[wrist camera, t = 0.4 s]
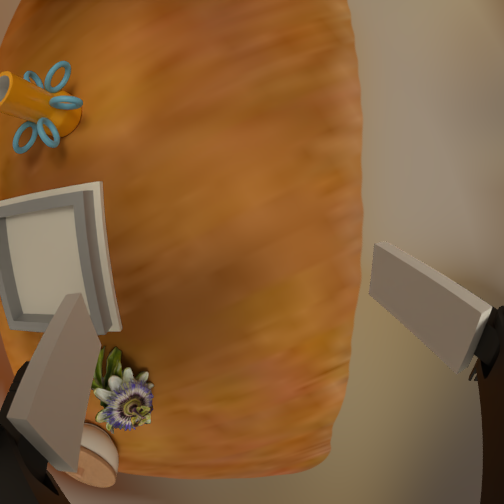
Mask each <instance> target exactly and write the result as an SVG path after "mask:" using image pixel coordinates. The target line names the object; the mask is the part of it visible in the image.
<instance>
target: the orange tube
mask: <svg viewBox="0 0 504 504" xmlns="http://www.w3.org/2000/svg"><path fill="white" fill-rule="evenodd" d="M60 67H64V68H65V75H64V77H63V79H62V81H61V82H60V84H59V85H57V86H56V87H51V84H50V83H51V78H52V76H53V74H54V73H55V72H56V70H57V69H59V68H60ZM70 74H71V66H70V64H69V63H68V62H67V61H60V62H58V63H56V64H55V65H54V66H53V67H52V68H51V69H50V70H49V72H48V74H47V76H46V78H45V83H44V86H45V89H44V86H43V83H42V81H41V79H40V78H39V77H38V75H37V74H36V73H34V72H33V71H27V72H26V73H25V74H24V79H23V78H21V77H19V76H17V75H15V74H13V73H11V72H9V71H5V72H2V73H0V113H4V114H7V115H11V116H14V117H18V118H21V119H24V120H27V122H25V123H23V124H22V125H21V126H20V127H19V129H18V130H17V132H16V133H15V136H14V139H13V149H14V151H15V152H16V153H19V154H22V153H24V152H26V151H28V150H29V149H30V148H31V146H32V145H33V144H34V142H35V140H36V138H37V135H38V134H39V136H40V138H41V139H42V141H43V142H44V143H45V144H46V145H47V146H49V147H51V148H55V147H57V146H58V145H59V143H60V137H64V136H66V135H68V134H70V133H71V132H72V131H73V130H74V129H75V128H76V127H77V125H78V123H79V121H80V118H81V114H82V105H83V101H82V100H81V99H80V98H77V97H74V96H72V95H70V94H69V93H67V92H65V91H63V90H61V89H62V88H63V87H64V86H65V84H66V83H67V81H68V79H69V77H70ZM29 77H31V78H32V79H33V80H34V81H35V83H36V84H37V85H35V84H33V83H31V82H30V79H29ZM28 127H32V129H33V133H32V136H31V139H30V140H29V142H28V143H27V144H26V145H25V146H24V147H19V145H18V142H19V138H20V136H21V134H22V132H23V131H24V130H25V129H26V128H28ZM47 135H51V136H53V137H54V141H52V140H51V139H50V138H49V137H48V136H47Z"/></svg>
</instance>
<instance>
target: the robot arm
mask: <svg viewBox="0 0 504 504" xmlns="http://www.w3.org/2000/svg"><path fill="white" fill-rule="evenodd" d="M369 295H370V296H371V297H373V298H374V299H375V300H376V301H377V302H378V303H379V304H381V305H382V306H383V307H384V308H385V309H386V310H387V311H389V312H390V313H391V314H392V315H393V316H394V317H395V318H396V319H398V320H399V321H400V322H401V323H402V324H403V325H404V326H405V327H406V328H408V329H409V330H410V331H411V332H412V333H413V334H414V335H415V336H416V337H418V339H420V340H421V341H422V342H423V343H424V344H425V345H426V346H427V347H428V348H429V349H430V350H431V351H433V352H434V353H435V354H436V355H437V356H438V357H439V358H440V359H441V360H442V361H443V362H444V363H445V364H446V365H447V366H449V367H450V368H451V369H452V370H453V371H454V372H455V373H456V374H458V373H459V372H461V371H462V370H464V369H465V368H467V367H468V366H469V364H470V362H471V360H472V357H473V355H476V356H477V357H478V359H477V361H476V364H475V366H474V368H473V370H472V372H471V374H470V376H469V381H471V379H472V377H473V375H474V374H476V373H477V376H476V377H475V379H474V381H478V386H479V395H480V404H481V415H482V431H483V475H482V492H481V502H480V504H504V306H501V307H499V309H498V310H497V309H496V308H494V307H493V306H491V305H490V304H488V303H487V302H485V301H484V300H482V299H481V298H479V297H478V296H476V295H475V294H473V293H472V292H470V291H469V290H467V289H466V288H464V287H463V286H461V285H459V284H458V283H456V282H454V281H453V280H451V279H449V278H448V277H446V276H445V275H443V274H441V273H440V272H438V271H436V270H435V269H433V268H431V267H430V266H428V265H426V264H425V263H423V262H422V261H420V260H418V259H416V258H415V257H413V256H411V255H410V254H408V253H406V252H404V251H403V250H401V249H399V248H397V247H395V246H394V245H392V244H390V243H389V242H387V241H386V242H380V243H375V244H374V252H373V263H372V273H371V281H370V289H369ZM100 349H101V343H100V340H99V338H98V336H97V333H96V331H95V328H94V326H93V323H92V321H91V318H90V316H89V313H88V310H87V308H86V305H85V302H84V299H83V297H82V294H81V293H74V294H67V295H65V297H64V299H63V300H62V302H61V304H60V306H59V307H58V309H57V311H56V313H55V314H54V316H53V318H52V320H51V321H50V323H49V325H48V327H47V329H46V331H45V333H44V334H43V336H42V338H41V340H40V342H39V344H38V346H37V348H36V350H35V352H34V354H33V356H32V358H31V360H30V361H26V362H25V363H24V364H23V366H22V367H21V368H20V369H19V370H18V371H17V374H16V376H15V378H14V380H13V383H12V384H11V387H10V389H9V391H10V392H8V393H7V396H6V398H5V401H4V403H3V405H2V408H1V411H0V504H70V502H69V501H68V499H67V498H66V497H65V495H64V494H63V492H62V491H61V489H60V488H59V486H58V484H57V483H56V481H55V480H54V478H53V476H52V475H51V474H50V473H49V472H48V471H47V470H46V469H47V463H48V462H49V463H50V464H51V465H52V466H53V467H54V468H56V469H57V470H59V471H66V472H76V473H77V470H78V461H79V453H80V446H81V439H82V433H83V426H84V421H85V415H86V410H87V405H88V400H89V395H90V390H91V386H92V381H93V377H94V373H95V369H96V364H97V360H98V357H99V353H100Z"/></svg>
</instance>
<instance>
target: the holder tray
mask: <svg viewBox="0 0 504 504" xmlns="http://www.w3.org/2000/svg"><path fill="white" fill-rule="evenodd" d="M74 293H81V294H82V297H83V299H84V302H85V305H86V308H87V310H88V313H89V316H90V318H91V321H92V323H93V326H94V328H95V331H96V333H97V335H106V333H107V332H108V331H121V330H122V324H121V319H120V314H119V309H118V304H117V299H116V294H115V288H114V282H113V276H112V270H111V263H110V256H109V249H108V241H107V232H106V222H105V211H104V198H103V181H98V182H92V183H86V184H80V185H74V186H68V187H63V188H57V189H52V190H47V191H42V192H37V193H32V194H28V195H23V196H19V197H15V198H10V199H6V200H2V201H0V296H1V300H2V304H3V307H4V311H5V314H6V318H7V321H8V324H9V328H10V329H11V330H22V331H34V332H45V331H46V329H47V327H48V325H49V323H50V321H51V320H52V318H53V316H54V314H55V313H56V311H57V309H58V307H59V306H60V304H61V302H62V300H63V299H64V297H65V295H67V294H74Z"/></svg>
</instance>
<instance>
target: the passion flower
mask: <svg viewBox="0 0 504 504" xmlns="http://www.w3.org/2000/svg"><path fill="white" fill-rule="evenodd" d="M104 349H105V346H104V348H103V349H101V350H100V353H99V357H98V360H97V364H96V369H95V373H94V380H93V381H92V386H91V389H92V390H94V394H95V396H96V397H97V398H98V399H99V400H101V403H100V405H101V406H103V407H104V409H103V410H101V411H100V412H98V414H97V415H96V417H95V419H96V420H95V421H97V422H99V423H101V422H107V424H106V428H107V430H109V431H110V432H111V433H112V434H114V430H113V427H114V428H119V429H120V430H121V428H124V430H125V431H126V430H127V429H129V431H130V429H131V428H134V429H135V427H138V426H140V425H143V424H150V423H151V411H152V410H153V405H152V398H153V397H154V396H153V395H152V391H151V388H152V387H154V385H153V384H152V383H146V381H147V379H148V375H149V374H148V372H146V371H142V372H140V373H139V374H138V375H137V376H136V377H135V378H134V376H133V373H132V370H131V368H130V367H127V368H125V369H124V370H123V371H122V364H121V355H122V353H121V351H120V350H119V349H118V348H117V347H115V348H114V349H113V350H112V351H111V352H110V354H109V356H108V358H107V365H106V375H105V376H104V377H103V378H102V361H103V358H104Z"/></svg>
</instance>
